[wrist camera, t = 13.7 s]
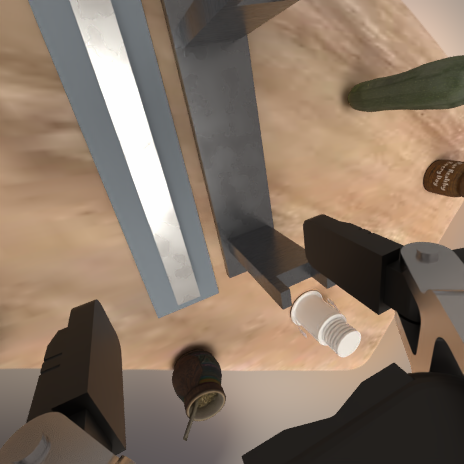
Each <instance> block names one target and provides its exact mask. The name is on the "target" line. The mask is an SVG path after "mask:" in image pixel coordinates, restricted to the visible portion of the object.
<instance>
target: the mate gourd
mask: <svg viewBox="0 0 464 464" xmlns="http://www.w3.org/2000/svg"><path fill="white" fill-rule="evenodd" d="M221 377H222V374H221V368H220V365H219V363H218V362H217V360H216V359H215V358H214V357H213V356H212V354H211V353H209V352H207V351H204V350H193V351H190V352H188V353H186V354H184V355H183V356H182V357H180V358H179V359H178V361H177V362H176V364H175V366H174V371H173V376H172V383H173V387H174V390H175V392H176V394H177V396H178V397H179V398H180V399H181V400H182V401H183V402H184V406H185V410H186V415H187V416H188V417H189V419H190V420H189V422H188V425H187V428H186V431H185V434H184V437H183V439H184V440H186V441H187V438H188V434H189V431H190V428H191V425H192V422H193V421H204V420H207V419H209V418H211V417H213V416H214V415H216V414H217V413H218V412H219V411H220V410H221V409H222V408H223V406H224V404H225V401H226V396H225V393H224V391H223V388H222V387H221Z"/></svg>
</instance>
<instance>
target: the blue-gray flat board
mask: <svg viewBox="0 0 464 464" xmlns="http://www.w3.org/2000/svg"><path fill="white" fill-rule="evenodd" d="M28 1H29V4H30V6H31V9H32V11H33V14H34V16H35V19H36V21H37V23H38V26H39V28H40V31H41V33H42V36H43V38H44V40H45V43H46V45H47V48H48V50H49V53H50V55H51V58H52V60H53V62H54V65H55V67H56V70H57V72H58V75H59V77H60V79H61V82H62V84H63V87H64V89H65V92H66V94H67V97H68V99H69V101H70V104H71V106H72V109H73V111H74V114H75V116H76V119H77V121H78V123H79V126H80V128H81V131H82V133H83V136H84V138H85V140H86V143H87V145H88V148H89V150H90V153H91V155H92V158H93V160H94V162H95V165H96V167H97V170H98V172H99V175H100V177H101V179H102V182H103V184H104V187H105V189H106V192H107V194H108V197H109V199H110V201H111V204H112V206H113V209H114V211H115V214H116V216H117V218H118V221H119V223H120V226H121V228H122V231H123V233H124V236H125V238H126V240H127V243H128V245H129V248H130V250H131V253H132V255H133V257H134V260H135V262H136V265H137V267H138V270H139V272H140V275H141V277H142V279H143V282H144V284H145V287H146V289H147V292H148V294H149V297H150V299H151V301H152V304H153V306H154V309H155V311H156V314H157V316H158V318H161V317H163V316H165V315H168V314H170V313H173V312H175V311H177V310H180V309H182V308H184V307H187V306H189V305H192V304H194V303H196V302H199V301H201V300H203V299H206V298H208V297H211V296H213V295H215V294H218V293H219V291H218V287H217V284H216V280H215V276H214V272H213V269H212V265H211V261H210V257H209V254H208V250H207V246H206V243H205V239H204V235H203V231H202V228H201V224H200V220H199V216H198V213H197V209H196V205H195V201H194V198H193V194H192V190H191V186H190V183H189V179H188V175H187V171H186V168H185V164H184V160H183V156H182V153H181V149H180V145H179V141H178V138H177V134H176V130H175V127H174V123H173V119H172V115H171V112H170V108H169V104H168V100H167V97H166V93H165V89H164V85H163V82H162V78H161V74H160V70H159V67H158V63H157V59H156V55H155V52H154V48H153V44H152V40H151V37H150V33H149V29H148V26H147V22H146V18H145V14H144V11H143V7H142V3H141V0H111V3H112V7H113V10H114V13H115V16H116V20H117V23H118V26H119V30H120V33H121V36H122V39H123V43H124V46H125V49H126V53H127V56H128V59H129V62H130V66H131V69H132V72H133V76H134V79H135V82H136V85H137V89H138V92H139V95H140V99H141V102H142V105H143V108H144V112H145V115H146V118H147V122H148V125H149V128H150V131H151V135H152V138H153V141H154V145H155V148H156V151H157V155H158V158H159V161H160V164H161V168H162V171H163V174H164V178H165V181H166V184H167V187H168V191H169V194H170V197H171V201H172V204H173V207H174V210H175V214H176V217H177V220H178V224H179V227H180V230H181V233H182V237H183V240H184V243H185V247H186V250H187V253H188V256H189V260H190V263H191V266H192V270H193V273H194V276H195V279H196V283H197V286H198V289H199V293H200V297H198V298H195V299H193V300H190V301H188V302H185V303H183V304H181V305H178V304H177V301H176V298H175V295H174V293H173V290H172V287H171V284H170V281H169V279H168V276H167V273H166V270H165V267H164V265H163V262H162V259H161V256H160V253H159V251H158V248H157V245H156V242H155V239H154V237H153V234H152V231H151V228H150V225H149V222H148V220H147V217H146V214H145V211H144V208H143V206H142V203H141V200H140V197H139V194H138V192H137V189H136V186H135V183H134V180H133V178H132V175H131V172H130V169H129V166H128V164H127V161H126V158H125V155H124V152H123V150H122V147H121V144H120V141H119V138H118V136H117V133H116V130H115V127H114V124H113V121H112V119H111V116H110V113H109V110H108V107H107V105H106V102H105V99H104V96H103V93H102V91H101V88H100V85H99V82H98V79H97V77H96V74H95V71H94V68H93V65H92V63H91V60H90V57H89V54H88V51H87V49H86V46H85V43H84V40H83V37H82V35H81V32H80V29H79V26H78V23H77V20H76V18H75V15H74V12H73V9H72V6H71V4H70V1H69V0H28Z"/></svg>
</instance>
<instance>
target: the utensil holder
mask: <svg viewBox="0 0 464 464" xmlns="http://www.w3.org/2000/svg"><path fill="white" fill-rule="evenodd" d="M424 187H425V189H426V190H427V191H429V192H432V193H436V194H440V195H445V196H450V197H461V196H462V197H464V162H460V161H451V160H438V161H436V162H434V163H433V164H432V165H431V166H430V167H429V168H428V170H427V171H426V174H425V177H424Z"/></svg>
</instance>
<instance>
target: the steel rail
mask: <svg viewBox="0 0 464 464" xmlns="http://www.w3.org/2000/svg"><path fill="white" fill-rule="evenodd" d="M69 1H70V4H71V6H72V9H73V12H74V15H75V18H76V20H77V23H78V26H79V29H80V32H81V35H82V37H83V40H84V43H85V46H86V49H87V51H88V54H89V57H90V60H91V63H92V65H93V68H94V71H95V74H96V77H97V79H98V82H99V85H100V88H101V91H102V93H103V96H104V99H105V102H106V105H107V107H108V110H109V113H110V116H111V119H112V121H113V124H114V127H115V130H116V133H117V136H118V138H119V141H120V144H121V147H122V150H123V152H124V155H125V158H126V161H127V164H128V166H129V169H130V172H131V175H132V178H133V180H134V183H135V186H136V189H137V192H138V194H139V197H140V200H141V203H142V206H143V208H144V211H145V214H146V217H147V220H148V222H149V225H150V228H151V231H152V234H153V237H154V239H155V242H156V245H157V248H158V251H159V253H160V256H161V259H162V262H163V265H164V267H165V270H166V273H167V276H168V279H169V281H170V284H171V287H172V290H173V293H174V295H175V298H176V301H177V304H178V305H181V304H183V303H185V302H188V301H190V300H193V299H195V298H198V297H200V293H199V289H198V286H197V283H196V279H195V276H194V273H193V270H192V266H191V263H190V260H189V256H188V253H187V250H186V247H185V243H184V240H183V237H182V233H181V230H180V227H179V224H178V220H177V217H176V214H175V210H174V207H173V204H172V201H171V197H170V194H169V191H168V187H167V184H166V181H165V178H164V174H163V171H162V168H161V164H160V161H159V158H158V155H157V151H156V148H155V145H154V141H153V138H152V135H151V131H150V128H149V125H148V122H147V118H146V115H145V112H144V108H143V105H142V102H141V99H140V95H139V92H138V89H137V85H136V82H135V79H134V76H133V72H132V69H131V66H130V62H129V59H128V56H127V53H126V49H125V46H124V43H123V39H122V36H121V33H120V30H119V26H118V23H117V20H116V16H115V13H114V10H113V7H112V3H111V0H69Z"/></svg>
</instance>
